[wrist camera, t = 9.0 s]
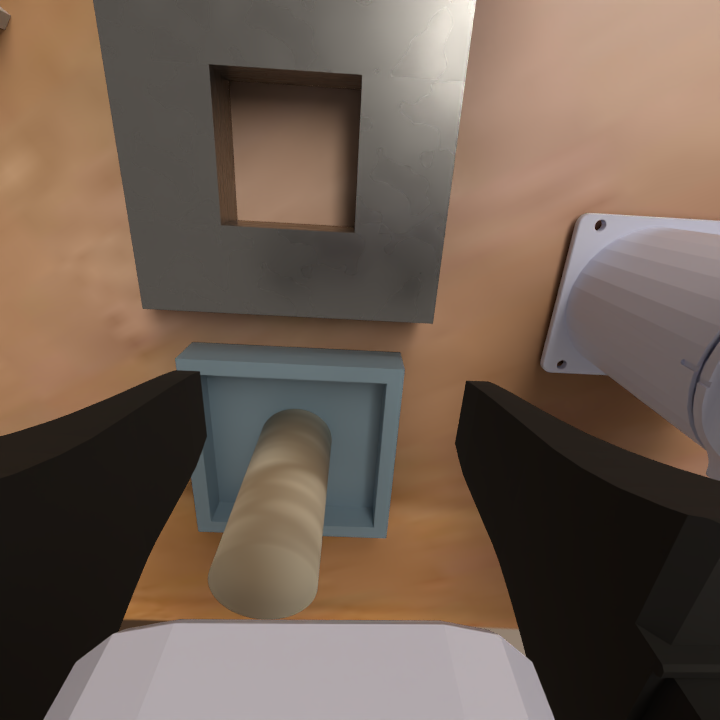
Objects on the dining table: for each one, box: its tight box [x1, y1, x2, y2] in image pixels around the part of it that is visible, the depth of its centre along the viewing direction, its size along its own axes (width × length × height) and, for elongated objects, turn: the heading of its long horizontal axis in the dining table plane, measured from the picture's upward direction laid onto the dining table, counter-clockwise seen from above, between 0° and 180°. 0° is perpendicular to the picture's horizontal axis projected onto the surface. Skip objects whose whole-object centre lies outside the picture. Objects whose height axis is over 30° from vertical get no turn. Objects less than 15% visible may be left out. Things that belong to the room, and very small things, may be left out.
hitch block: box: [93, 0, 476, 324], centre depth 17 cm, size 13×13×2 cm
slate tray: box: [175, 342, 405, 538], centre depth 23 cm, size 11×11×2 cm
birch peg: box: [208, 409, 332, 619], centre depth 19 cm, size 4×4×9 cm
